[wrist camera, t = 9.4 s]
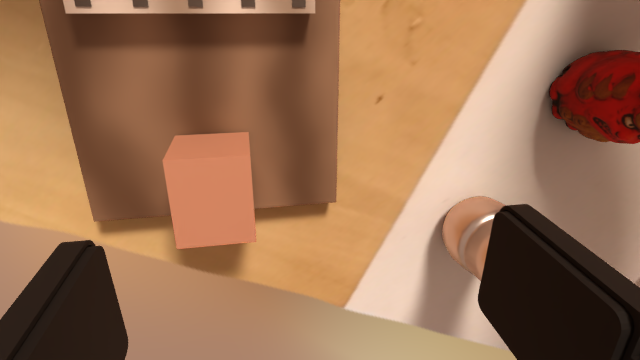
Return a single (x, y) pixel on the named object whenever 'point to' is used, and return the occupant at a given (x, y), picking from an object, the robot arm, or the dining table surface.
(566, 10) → the dining table surface
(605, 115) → the red clay folk toy
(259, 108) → the wooden base board
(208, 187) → the salmon upright block
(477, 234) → the plastic bottle
